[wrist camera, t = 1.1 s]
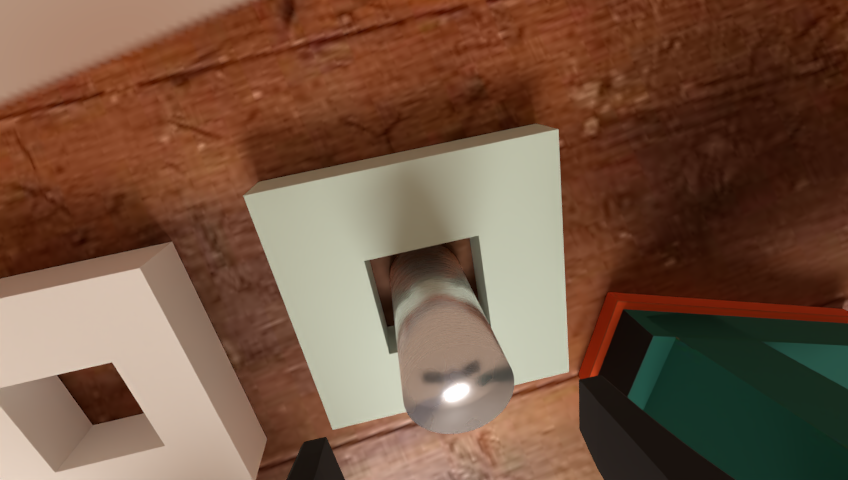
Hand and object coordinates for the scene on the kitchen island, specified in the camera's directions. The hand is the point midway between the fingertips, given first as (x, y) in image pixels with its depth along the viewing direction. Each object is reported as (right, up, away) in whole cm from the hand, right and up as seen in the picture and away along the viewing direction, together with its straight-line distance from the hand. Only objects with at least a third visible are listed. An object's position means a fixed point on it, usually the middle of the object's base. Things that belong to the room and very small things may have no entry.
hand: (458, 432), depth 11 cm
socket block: (-1, +3, +11) cm, 12 cm away
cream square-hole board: (-18, -2, +11) cm, 21 cm away
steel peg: (-1, +3, +11) cm, 12 cm away
